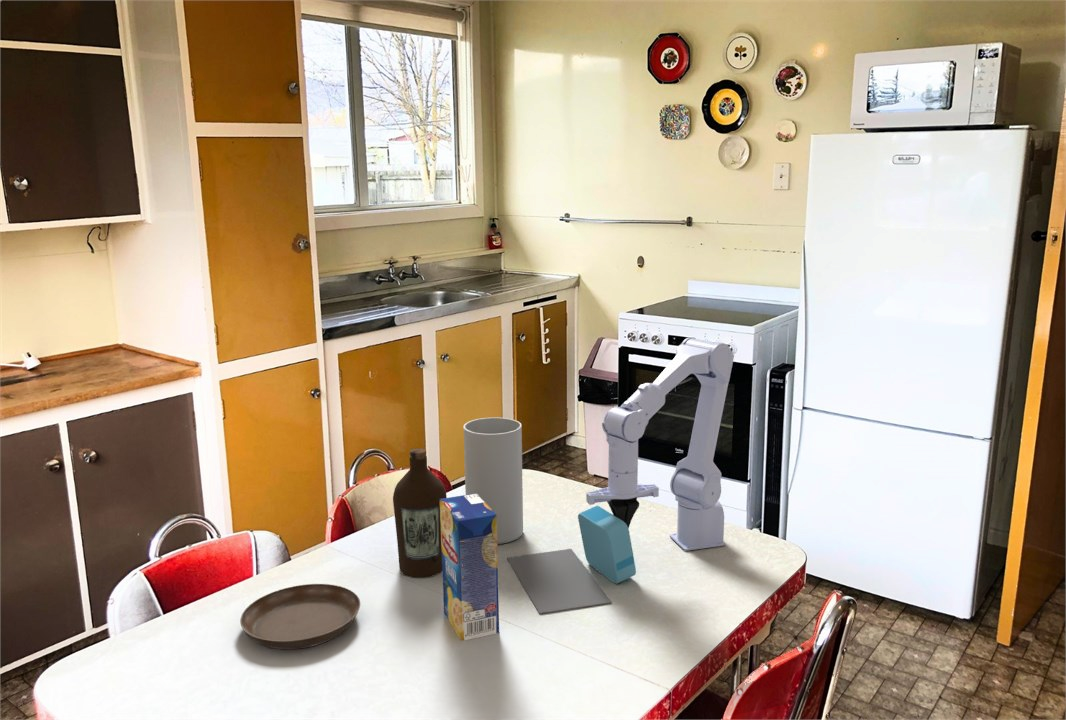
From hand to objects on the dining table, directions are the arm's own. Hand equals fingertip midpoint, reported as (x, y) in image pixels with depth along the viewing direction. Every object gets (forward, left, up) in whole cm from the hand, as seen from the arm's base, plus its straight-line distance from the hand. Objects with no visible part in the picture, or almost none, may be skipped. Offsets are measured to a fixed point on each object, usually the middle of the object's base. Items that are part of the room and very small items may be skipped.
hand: (622, 533), depth 171 cm
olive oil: (+38, -13, -8) cm, 41 cm away
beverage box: (+33, +11, -8) cm, 36 cm away
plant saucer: (+62, +3, -8) cm, 63 cm away
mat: (+14, 0, -8) cm, 16 cm away
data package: (+2, 0, -8) cm, 8 cm away
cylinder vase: (+20, -25, -8) cm, 33 cm away
